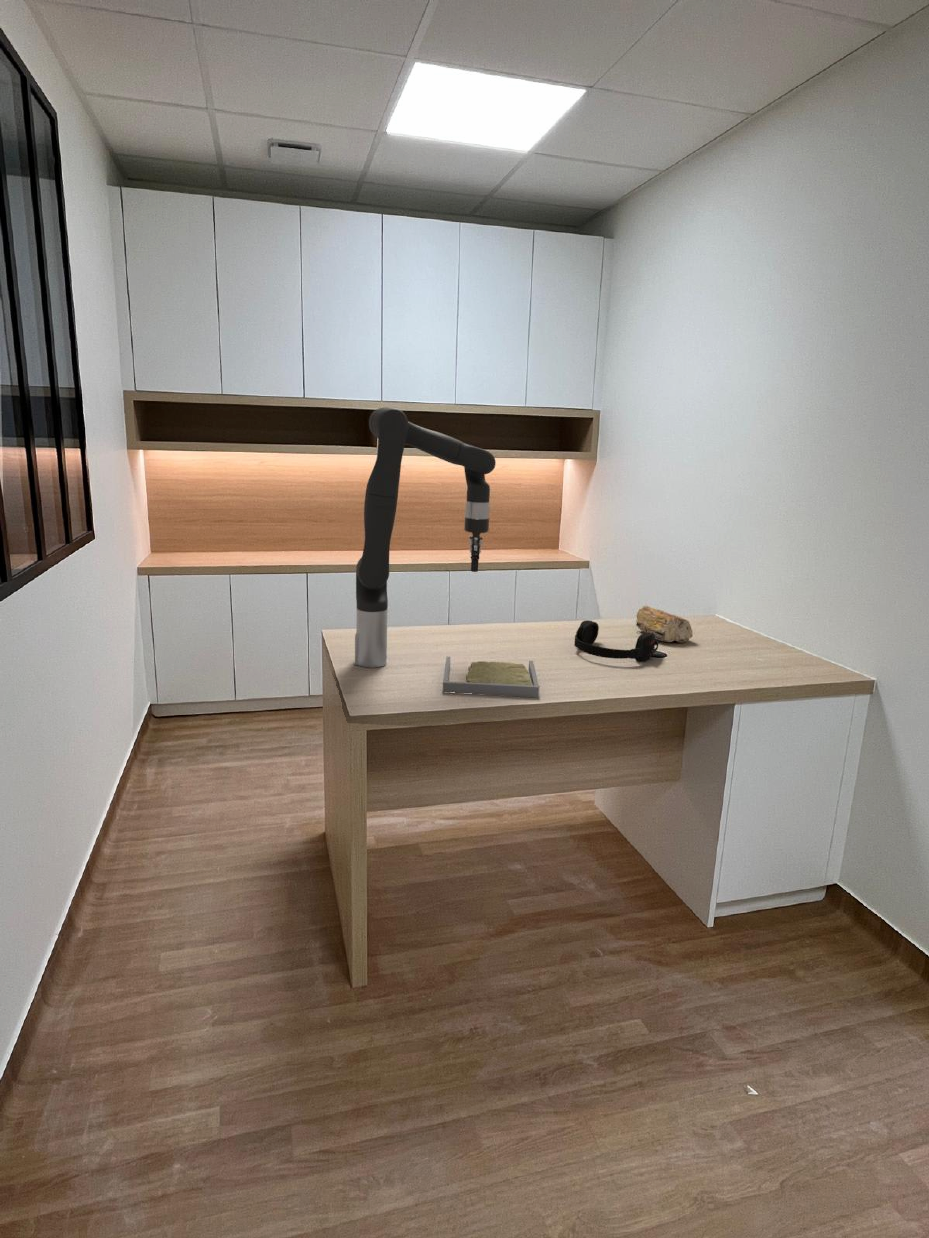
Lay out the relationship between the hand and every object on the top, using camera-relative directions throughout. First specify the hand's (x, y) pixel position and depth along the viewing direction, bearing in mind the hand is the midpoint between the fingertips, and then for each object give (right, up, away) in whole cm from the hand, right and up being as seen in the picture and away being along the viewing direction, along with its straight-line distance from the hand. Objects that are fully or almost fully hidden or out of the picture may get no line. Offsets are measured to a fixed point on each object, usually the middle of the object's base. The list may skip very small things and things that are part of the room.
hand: (474, 571), depth 233 cm
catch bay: (+4, -33, -17) cm, 37 cm away
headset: (+48, -27, +15) cm, 57 cm away
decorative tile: (+6, -34, -18) cm, 39 cm away
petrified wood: (+69, -22, +37) cm, 81 cm away
